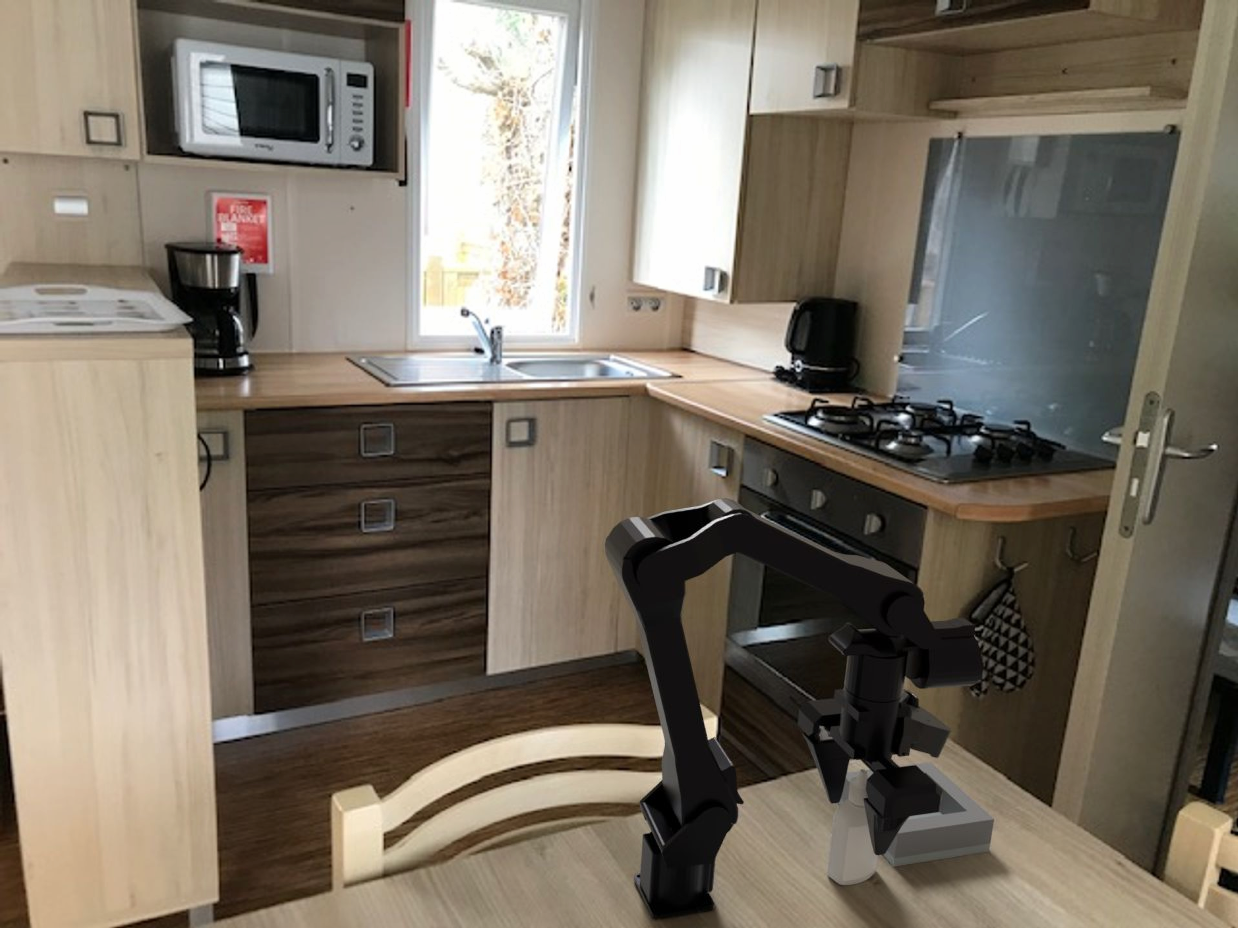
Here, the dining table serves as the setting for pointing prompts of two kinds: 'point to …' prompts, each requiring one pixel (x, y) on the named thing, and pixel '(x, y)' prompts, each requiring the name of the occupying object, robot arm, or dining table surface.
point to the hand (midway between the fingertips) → (856, 826)
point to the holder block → (938, 825)
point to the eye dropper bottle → (852, 838)
